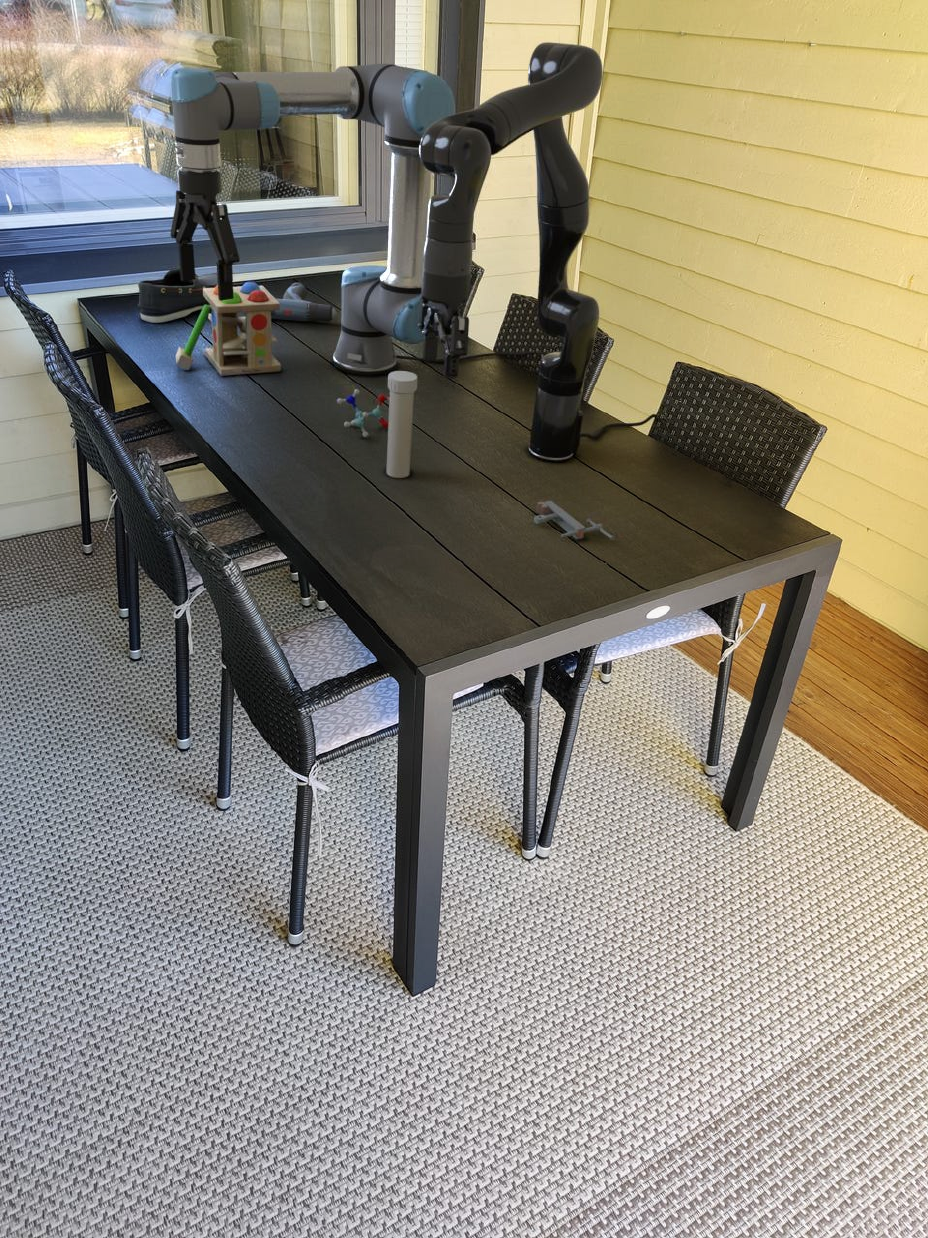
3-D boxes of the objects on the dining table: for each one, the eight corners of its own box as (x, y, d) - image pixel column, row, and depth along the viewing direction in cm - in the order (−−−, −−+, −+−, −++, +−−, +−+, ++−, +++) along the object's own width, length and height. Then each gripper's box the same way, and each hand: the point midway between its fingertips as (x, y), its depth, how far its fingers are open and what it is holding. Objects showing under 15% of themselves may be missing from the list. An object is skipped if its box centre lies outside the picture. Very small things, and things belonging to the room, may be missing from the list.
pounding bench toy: (183, 379, 220) (176, 299, 210) (169, 357, 231) (162, 280, 221) (282, 371, 230) (280, 294, 220) (264, 350, 240) (262, 276, 230)
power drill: (344, 304, 276) (335, 327, 259) (277, 298, 275) (264, 321, 258) (344, 285, 273) (335, 306, 256) (277, 279, 272) (264, 300, 255)
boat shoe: (248, 301, 272) (246, 262, 267) (158, 325, 248) (153, 283, 243) (214, 293, 278) (211, 255, 272) (123, 315, 254) (117, 274, 248)
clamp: (523, 504, 179) (568, 495, 184) (522, 515, 180) (566, 506, 185) (570, 543, 169) (616, 532, 173) (569, 554, 170) (614, 543, 174)
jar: (388, 466, 193) (392, 372, 182) (411, 469, 193) (416, 375, 182) (384, 476, 189) (388, 381, 178) (408, 479, 189) (413, 384, 178)
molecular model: (383, 429, 198) (367, 381, 197) (344, 444, 202) (327, 397, 200) (405, 426, 209) (389, 380, 207) (367, 440, 212) (351, 395, 211)
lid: (389, 381, 184) (390, 369, 182) (418, 384, 184) (419, 372, 182) (385, 391, 179) (386, 379, 178) (414, 394, 179) (415, 382, 178)
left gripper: (145, 155, 179) (155, 274, 191) (217, 183, 164) (224, 310, 176) (182, 153, 183) (190, 269, 195) (256, 180, 169) (260, 304, 181)
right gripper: (488, 279, 148) (478, 382, 157) (450, 254, 159) (443, 352, 168) (443, 281, 145) (436, 386, 154) (407, 255, 156) (402, 355, 165)
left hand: (206, 289), depth 186 cm, fingers open, 13 cm apart
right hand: (439, 368), depth 161 cm, fingers open, 8 cm apart
